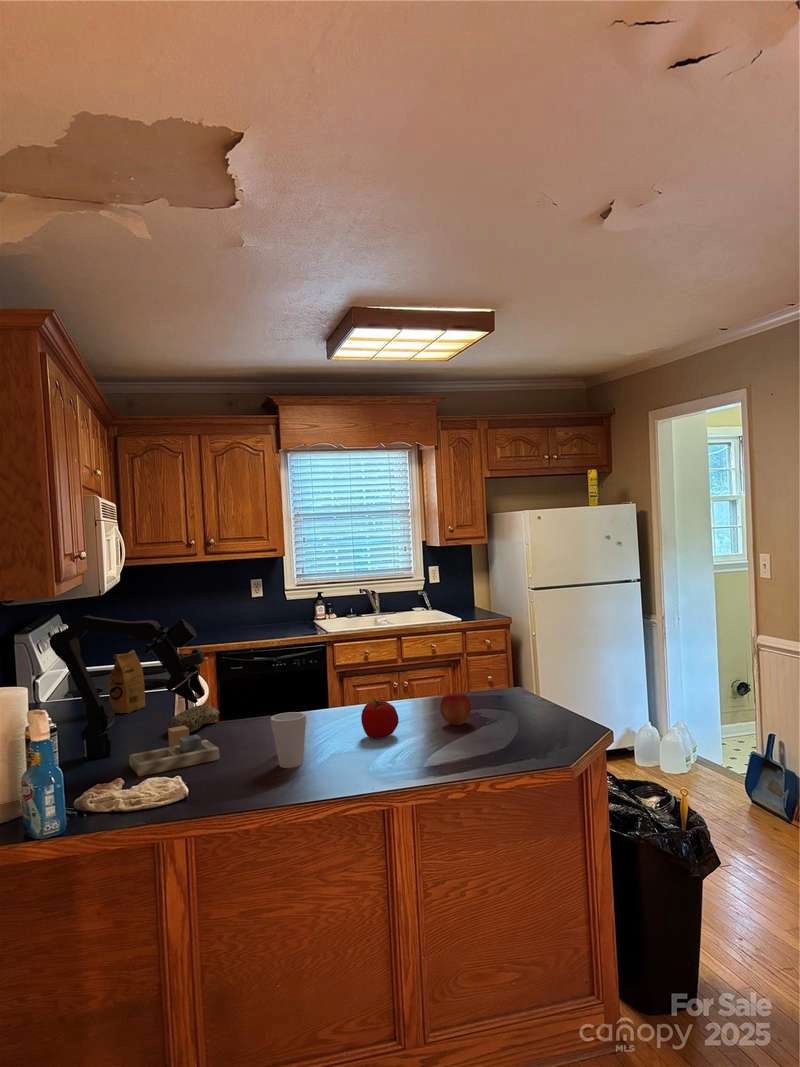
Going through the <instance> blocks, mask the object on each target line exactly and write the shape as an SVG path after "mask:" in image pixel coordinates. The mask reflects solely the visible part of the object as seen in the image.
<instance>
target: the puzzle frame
mask: <svg viewBox="0 0 800 1067" xmlns="http://www.w3.org/2000/svg"><path fill="white" fill-rule="evenodd" d="M179 743H180V745H177V746H172V747H169V746H167V747H163V748H158V749H157V748H156V749H153V750H147V751H142V752H137V753H132V754H129V755H128V758H129V759H128V760H129V766H130V768H131V769H132V770H133V771H134V772H135V773H136V774H137V776H138V777H143V776H148V775H152V774H157V773H158V774H159V773H161V772H166V771H171V770H176V769H180V768H185V767H190V766H194V765H200V764H204V763H208V762H214V761H218V760H220V759H221V758H220V748H219V747H218V746H216V745H214V744H213V743H212V742H210V741H209V740H207V739H202V737H200V735H198V734H193V735H192V734H191V735H189V736H186V737H181V738H179Z"/></svg>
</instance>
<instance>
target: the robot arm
mask: <svg viewBox="0 0 800 1067" xmlns="http://www.w3.org/2000/svg"><path fill="white" fill-rule="evenodd" d="M89 631H93V632H101V633H108V634H115V635H124V636H127V637H130V638H132V639H134V640H137V641H140V642H143V643H146V644H145V645H144V646H145V647H144V651H143V652H144V653H143V654H144V655H147V654H149V653H151V652H152V654H153V656H155V657H156V659H157V660H158V662H159V663H160V664H161V666H160V668H161V669H162V670H165V671H166V672H167V674H168V675H169V676H170V677H169V678H168V680H167V681H166V682H165V685H164V686H165V688H166V689H167V691H168V692H171V693H172V694H175V695H177V696H180V697H181V698H184V699H185V700H187V701H189V702H191V703H192V704H197V703H198V702H199V701H198V698H197V696H196V694H197V695H198V696H200V697H201V698H202V697H204V696H205V695H206V693H205V691H204V689H203V686H202V683H201V680H200V673H201V666H200V664H203V663H204V662H206V660H205V656H204V655H205V653H204V652H203V650H200V649H199V648H195V649H192V650H191V652H190V653H189V654H187V655H184V654H183V653H182V652H180V653H179V652H178V651H177V649H176V648H180V649H181V648H183V647H185V646H186V645H187V644H189V643H190V642H191V641H192V640H194V639H196V638H197V636H198V634H197V631H196V630H195V628H194V627H193V626H192V625H190V624H189V623H188V622H187V621H185V619H184V618H182V619H180V620H179V621H178V622H176V623H175V624H174V625H173V626H171V627H166V626H164V625H160V623H159V622H158V620H154V619H152V620H151V619H150V620H137V621H135V620H133V621H128V620H121V619H112V618H106V617H97V616H92V615H85V616H82V617H80V618H79V619H78V620H77V621H76V622H74V623H72V624H71V625H69V626H68V627H67V628H65V629H63V630H61V631H57V632H54V633H53V634H52V635H51V636H50V639H49V646H50V648H51V650H52V651H53V653H54V654H55V655H56V656H57V657H58V658H59V659H60V660H61V661H62V662H63V663H64V664H65V666H66V668H67V670H68V672H69V675H70V676H71V679H72V680H73V684H74V685H75V687H76V689H77V691H78V693H79V695H80V697H81V700H82V702H83V704H84V706H85V719H86V723H87V725H86V726H85V728H84V729H83V730H82V731H81V732H80V737H81V739H82V740H83V743H84V756H85V757H86V758H85V757H84V756H83V757H84V758H85V760H86V759H87V760H88V761H92V760H91V759H94V760H98V759H102V758H109V757H111V756H112V755H111V753H112V748H111V744H112V743H111V738H110V737H109V734H108V732H109V730H110V727H112V726H113V724H114V723H115V721H116V715H115V714H116V711H115V710H114V709H113V708H112V705H111V702H110V701H109V700H108V701H106V702H105V701H104V699H102V698H101V696H100V694H99V691H98V690H97V687H96V686H95V684H94V682H93V679H92V677H91V675H90V673H89V671H88V669H87V667H86V665H85V663H84V660H83V657H82V656H81V645H80V640H79V639H80V638H81V637H83V636H84V635H85V634H86V633H87V632H89ZM165 636H166V637H165ZM164 637H165V638H164ZM161 638H163V639H162V640H161ZM153 640H154V641H153ZM152 641H153V642H152ZM149 642H152V643H151V644H150V643H149ZM199 669H200V670H199ZM194 692H195V693H194ZM87 760H86V761H87Z"/></svg>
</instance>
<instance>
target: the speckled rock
mask: <svg viewBox="0 0 800 1067" xmlns="http://www.w3.org/2000/svg"><path fill="white" fill-rule="evenodd" d="M220 714H221V713H220V711H219V710H218V709H217V708H215V707H214V706H210V705H209V704H200V705H195V706H192V707H190V708H188V709H185V710H184V711H182V712H180V713H177V714H176V715H174V716H172V717H171V718H170V726H171V728H174V727H179V726H186V727H187V728H189V734H190V733H193V731H194V732H196V731H197V730H199V729H200V728H201V727H202V726H204V725H206V724H209V723H213V722H215V721H217V720H218V718H219V717H220ZM203 724H204V725H203ZM195 730H196V731H195Z"/></svg>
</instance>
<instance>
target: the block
mask: <svg viewBox="0 0 800 1067" xmlns="http://www.w3.org/2000/svg"><path fill="white" fill-rule="evenodd" d="M167 730H168V731H167V732H168V733H167V735H168V747H172V746H177V745H180V743H179V738H181V737H186V736H190V733H189V728H187V727H186V726H179V727H174V728H173V727H171V728H167Z"/></svg>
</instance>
